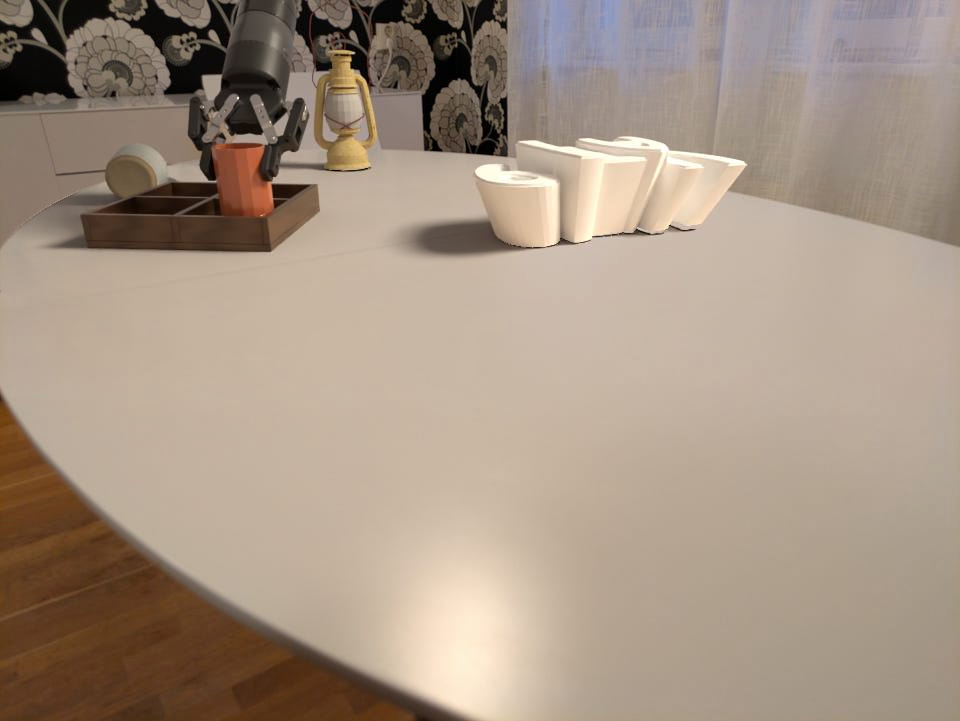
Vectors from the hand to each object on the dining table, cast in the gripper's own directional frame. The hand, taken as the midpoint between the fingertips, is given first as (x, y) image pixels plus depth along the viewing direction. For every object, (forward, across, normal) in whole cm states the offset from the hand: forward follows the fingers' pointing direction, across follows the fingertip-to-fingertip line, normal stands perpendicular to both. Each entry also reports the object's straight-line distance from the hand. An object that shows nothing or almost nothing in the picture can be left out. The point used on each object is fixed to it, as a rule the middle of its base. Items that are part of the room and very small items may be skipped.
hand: (237, 176), depth 77 cm
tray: (0, +6, -10) cm, 12 cm away
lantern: (-35, 0, -46) cm, 58 cm away
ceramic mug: (-11, +24, -23) cm, 35 cm away
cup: (+2, 0, -5) cm, 5 cm away
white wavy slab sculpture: (-2, -42, -13) cm, 44 cm away
